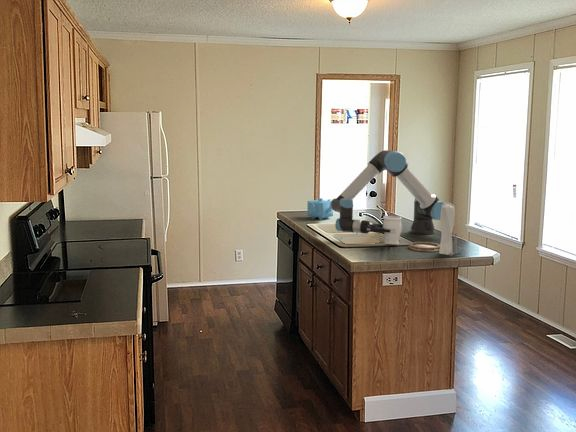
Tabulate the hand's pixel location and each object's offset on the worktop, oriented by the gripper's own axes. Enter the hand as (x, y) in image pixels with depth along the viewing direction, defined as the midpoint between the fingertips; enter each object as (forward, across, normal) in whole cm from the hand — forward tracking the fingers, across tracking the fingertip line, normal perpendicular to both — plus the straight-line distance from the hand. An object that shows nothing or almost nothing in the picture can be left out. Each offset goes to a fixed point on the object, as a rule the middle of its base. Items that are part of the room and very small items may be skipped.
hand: (399, 229), depth 342 cm
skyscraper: (+28, +8, -10) cm, 31 cm away
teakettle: (-77, -68, -9) cm, 103 cm away
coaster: (+15, 0, -9) cm, 17 cm away
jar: (-4, 0, -8) cm, 9 cm away
